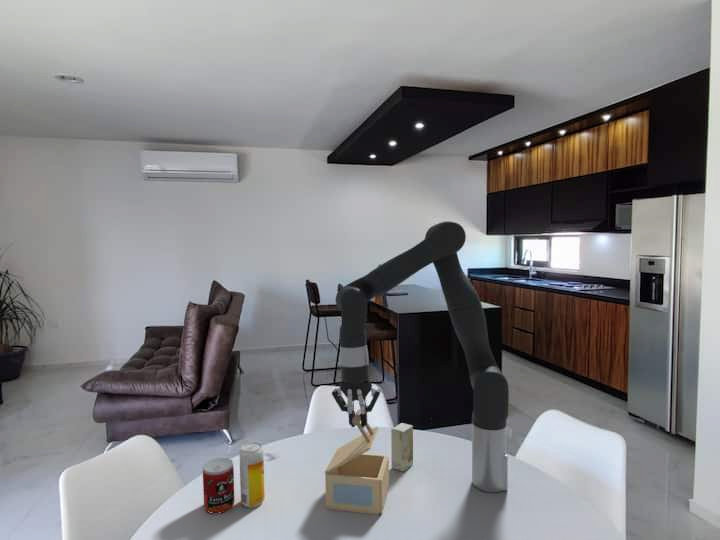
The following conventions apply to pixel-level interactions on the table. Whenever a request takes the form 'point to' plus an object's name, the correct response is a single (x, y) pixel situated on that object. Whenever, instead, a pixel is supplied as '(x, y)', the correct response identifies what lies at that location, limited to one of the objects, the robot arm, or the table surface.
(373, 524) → the table surface
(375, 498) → the wooden box
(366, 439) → the flap
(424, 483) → the table surface
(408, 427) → the skincare box
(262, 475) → the beer can
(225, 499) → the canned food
